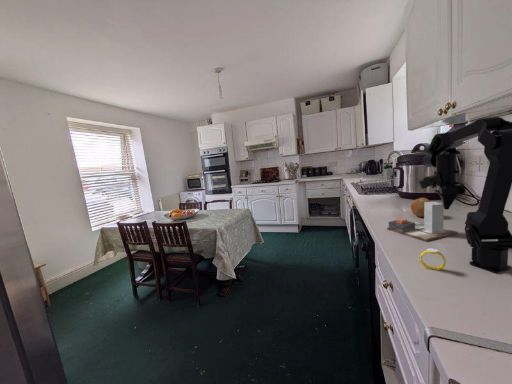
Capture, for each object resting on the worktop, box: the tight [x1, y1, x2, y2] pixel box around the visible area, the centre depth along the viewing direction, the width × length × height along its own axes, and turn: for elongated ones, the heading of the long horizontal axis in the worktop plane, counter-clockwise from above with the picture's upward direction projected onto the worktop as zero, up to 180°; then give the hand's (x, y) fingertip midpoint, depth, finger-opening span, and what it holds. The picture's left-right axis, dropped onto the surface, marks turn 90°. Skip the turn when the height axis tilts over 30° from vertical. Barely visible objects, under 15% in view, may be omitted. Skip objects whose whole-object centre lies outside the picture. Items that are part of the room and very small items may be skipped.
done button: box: [395, 217, 408, 224], centre depth 99 cm, size 3×3×3 cm
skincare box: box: [423, 201, 445, 233], centre depth 93 cm, size 6×4×12 cm
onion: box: [410, 197, 432, 218], centre depth 116 cm, size 10×10×10 cm
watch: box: [419, 247, 447, 271], centre depth 67 cm, size 6×3×6 cm, turn 53°
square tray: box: [386, 219, 459, 243], centre depth 96 cm, size 18×17×4 cm
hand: (446, 209), depth 83 cm, fingers closed
